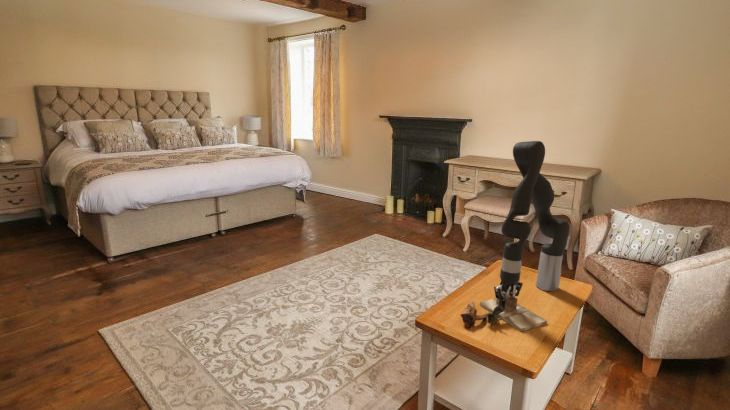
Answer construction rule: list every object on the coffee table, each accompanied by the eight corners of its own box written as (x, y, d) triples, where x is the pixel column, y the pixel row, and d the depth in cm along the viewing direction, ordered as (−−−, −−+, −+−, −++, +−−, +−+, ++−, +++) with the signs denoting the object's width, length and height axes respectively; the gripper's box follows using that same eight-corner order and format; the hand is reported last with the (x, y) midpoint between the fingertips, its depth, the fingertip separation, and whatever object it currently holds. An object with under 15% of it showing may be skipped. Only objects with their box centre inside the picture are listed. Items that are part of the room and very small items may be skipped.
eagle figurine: (507, 327, 148) (508, 312, 156) (498, 312, 147) (500, 297, 155) (488, 331, 152) (491, 316, 160) (479, 317, 151) (482, 302, 159)
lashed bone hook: (483, 334, 146) (486, 310, 163) (485, 323, 145) (488, 300, 161) (458, 327, 149) (463, 304, 166) (459, 316, 148) (465, 294, 164)
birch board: (504, 298, 172) (504, 295, 172) (546, 323, 154) (547, 320, 153) (479, 304, 166) (479, 302, 166) (521, 331, 147) (521, 328, 147)
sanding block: (503, 302, 166) (504, 291, 165) (516, 310, 160) (517, 299, 159) (496, 304, 164) (497, 293, 163) (508, 312, 158) (510, 300, 157)
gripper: (516, 262, 164) (511, 299, 169) (490, 267, 158) (486, 306, 163) (531, 269, 158) (525, 307, 162) (504, 275, 152) (499, 315, 156)
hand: (505, 306), depth 162 cm, fingers closed on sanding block, 4 cm apart
